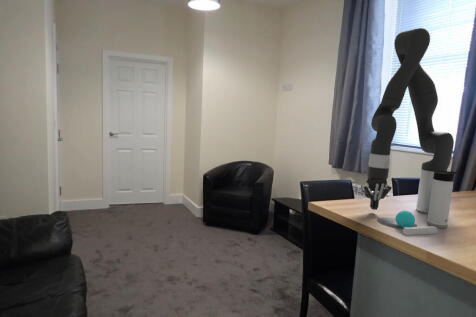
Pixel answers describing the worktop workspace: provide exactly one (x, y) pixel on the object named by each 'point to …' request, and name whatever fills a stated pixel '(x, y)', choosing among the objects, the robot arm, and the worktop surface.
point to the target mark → (391, 222)
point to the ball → (405, 219)
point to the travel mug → (440, 199)
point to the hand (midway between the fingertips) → (373, 209)
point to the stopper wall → (420, 230)
